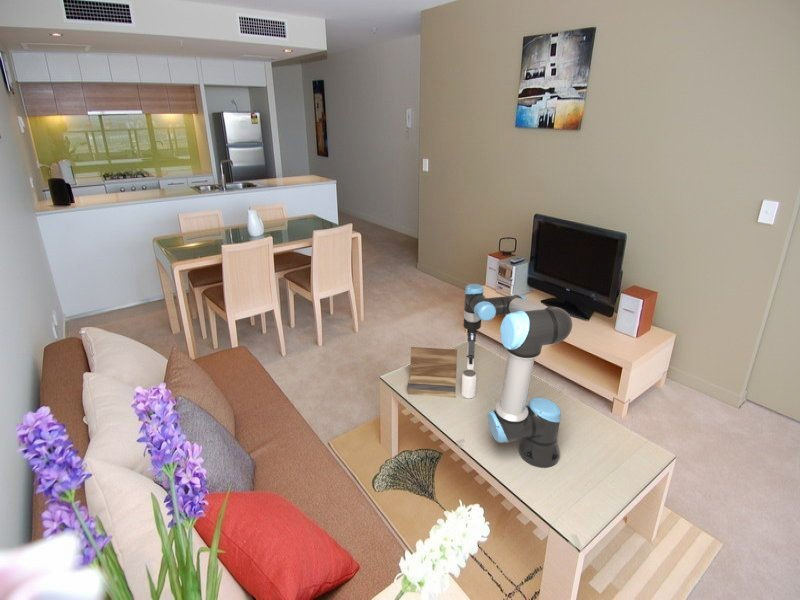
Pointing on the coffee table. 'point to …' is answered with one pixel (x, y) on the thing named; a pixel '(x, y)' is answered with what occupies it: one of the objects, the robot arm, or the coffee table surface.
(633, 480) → the coffee table surface
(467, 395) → the can
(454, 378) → the brown piece
